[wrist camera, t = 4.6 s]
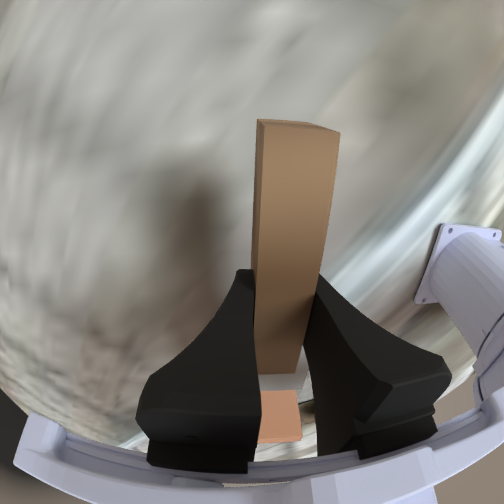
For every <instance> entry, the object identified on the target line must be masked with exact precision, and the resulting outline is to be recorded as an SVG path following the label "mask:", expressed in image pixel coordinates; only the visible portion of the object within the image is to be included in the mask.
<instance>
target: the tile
mask: <svg viewBox="0 0 504 504" xmlns="http://www.w3.org/2000/svg"><path fill="white" fill-rule="evenodd" d="M260 392H261V404H262V418H261V425H260V431H259V437H258V443H276V442H290V441H300V440H301V438H302V436H303V434H302V427H301V421H300V414H299V408H298V401H297V395H296V390H280V391H260Z"/></svg>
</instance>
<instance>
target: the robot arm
mask: <svg viewBox="0 0 504 504" xmlns="http://www.w3.org/2000/svg"><path fill="white" fill-rule="evenodd" d="M448 230H449V231H448ZM501 235H502V231H501V230H499V229H494V228H486V227H478V226H470V225H461V224H452V223H444V224H442V225H441V227H440V230H439V233H438V236H437V240H436V243H435V246H434V249H433V252H432V255H431V257H430V260H429V263H428V266H427V268H426V271H425V274H424V276H423V279H422V281H421V284H420V286H419V289H418V291H417V294H416V296H415V298H414V302H415V304H416V305H420V304H429V303H437V302H439V303H440V304H441V306H442V307H443V309H444V310H445V311H446V313H447V314H448V315H449V317H450V318H451V320H452V321H453V322H454V324H455V325H456V327H457V328H458V330H459V331H460V333H461V334H462V336H463V337H464V339H465V340H466V342H467V343H468V345H469V346H470V348H471V349H472V351H473V352H474V354H475V356H476V357H477V360H476V362H475V363H474V364H473V366H472V367H473V368H474V370H475V372H476V373H477V376H476V377H475V379H474V382H473V397H474V403H475V406H476V407H475V408H473V409H471V410H469V411H467V412H465V413H463V414H461V415H459V416H456V417H454V418H452V419H450V420H447V421H445V422H443V423H440V424H438V425H436V424H435V422H434V419H433V417H432V415H433V414H434V413H435V409H434V406H433V403H434V402H435V401H436V400H437V399H438V398H439V397H440V396H441V395H442V394H443V392H444V391H445V390H446V389H447V387H448V386H449V384H450V382H451V379H452V374H451V372H450V370H449V368H448V367H447V365H446V363H445V361H444V359H443V358H442V356H439V355H437V354H434V353H431V352H429V351H426V350H424V349H421V348H419V347H416V346H414V345H412V344H410V343H408V342H406V341H404V340H402V339H400V338H398V337H396V336H395V335H393V334H391V333H390V332H388V331H386V330H385V329H383V328H382V327H380V326H378V325H377V324H376V323H374V322H373V321H371V320H370V319H369V318H367V317H366V316H365V315H363V314H362V313H361V312H360V311H358V310H357V309H356V308H355V307H354V306H353V305H351V304H350V303H349V302H348V301H347V300H346V299H345V298H344V297H343V296H341V295H340V294H339V293H338V292H337V291H336V290H335V289H334V288H333V287H332V286H331V285H330V284H329V283H328V282H327V281H326V280H325V279H324V278H323V277H322V276H321V275H320V274H319V276H318V281H317V286H316V290H315V295H314V300H313V304H312V308H311V313H310V317H309V321H308V325H307V330H306V334H305V338H304V342H303V348H304V351H305V355H306V359H307V363H308V366H309V371H310V375H311V381H312V389H313V397H314V406H315V416H316V430H317V457H311V458H303V459H294V460H282V461H264V462H254V456H255V450H256V448H257V443H258V437H259V431H260V425H261V418H262V404H261V392H260V386H259V378H258V370H257V362H256V353H255V342H254V331H253V311H254V292H255V279H254V271H253V269H239V270H238V271H236V276H235V279H234V282H233V284H232V286H231V289H230V291H229V292H228V294H227V296H226V298H225V300H224V302H223V303H222V305H221V306H220V308H219V310H218V311H217V313H216V314H215V316H214V317H213V318H212V320H211V321H210V322H209V324H208V325H207V326H206V327H205V329H204V330H203V331H202V332H201V333H200V334H199V335H198V336H197V337H196V339H195V340H194V341H193V342H192V343H191V344H190V345H189V346H188V347H186V348H185V349H184V350H183V351H182V352H181V353H180V354H178V355H177V356H176V357H175V358H174V359H173V360H171V361H170V362H169V363H167V364H166V365H165V366H163V367H162V368H160V369H159V370H157V371H156V372H155V373H153V374H152V375H150V376H149V378H148V380H147V382H146V384H145V386H144V389H143V391H142V394H141V396H140V399H139V404H138V408H137V413H136V418H135V419H136V421H137V423H138V425H139V426H140V427H141V429H142V430H143V431H144V433H145V434H146V435H147V437H148V438H149V439H150V440H149V445H148V452H147V453H143V452H138V451H133V450H128V449H124V448H120V447H116V446H112V445H108V444H104V443H101V442H97V441H94V440H90V439H87V438H84V437H81V436H78V435H75V434H72V433H69V432H67V430H66V429H65V428H64V427H63V426H62V425H60V424H59V423H57V422H56V421H54V420H52V419H50V418H47V417H45V416H42V415H40V414H38V413H35V412H33V411H32V412H30V414H29V417H28V420H27V422H26V425H25V428H24V430H23V433H22V436H21V439H20V442H19V445H18V448H17V451H16V454H15V458H14V461H13V463H14V465H15V466H17V467H19V468H20V469H22V470H24V471H25V472H27V473H29V474H30V475H32V476H34V477H36V478H37V479H39V480H41V481H43V482H45V483H47V484H49V485H51V486H53V487H55V488H57V489H59V490H62V491H64V492H66V493H68V494H70V495H73V496H75V497H77V498H80V499H83V500H85V501H88V502H90V503H93V504H438V503H437V499H436V495H435V491H434V488H433V486H434V485H436V484H438V483H440V482H442V481H443V480H446V479H447V478H449V477H451V476H453V475H455V474H456V473H458V472H460V471H461V470H463V469H465V468H467V467H468V466H470V465H471V464H473V463H475V462H476V461H477V460H479V459H481V458H482V457H484V456H485V455H487V454H488V453H489V452H491V451H492V450H494V449H495V448H496V447H498V446H499V445H500V444H502V443H503V442H504V244H503V243H501V242H500V238H501ZM287 481H291V482H288V483H280V484H272V485H262V486H248V487H224V485H223V484H222V483H236V484H248V483H274V482H287Z"/></svg>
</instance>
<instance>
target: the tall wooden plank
mask: <svg viewBox="0 0 504 504" xmlns="http://www.w3.org/2000/svg"><path fill="white" fill-rule="evenodd" d="M339 141H340V133H339V132H336V131H333V130H330V129H327V128H324V127H321V126H318V125H314V124H311V123H308V122H299V121H287V120H272V119H257V129H256V153H255V178H254V202H253V227H252V251H251V269H253V271H254V279H255V292H254V311H253V331H254V342H255V353H256V362H257V370H258V378H259V386H260V391H280V390H298V389H302V387H303V384H304V381H305V378H306V375H307V372H308V369H309V366H308V363H307V359H306V355H305V351H304V348H303V342H304V338H305V334H306V330H307V325H308V321H309V317H310V313H311V308H312V304H313V300H314V295H315V290H316V286H317V281H318V276H319V271H320V266H321V261H322V256H323V250H324V245H325V239H326V234H327V228H328V222H329V216H330V210H331V203H332V196H333V190H334V182H335V175H336V167H337V159H338V151H339ZM214 316H215V314H212V318H213V317H214Z"/></svg>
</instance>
